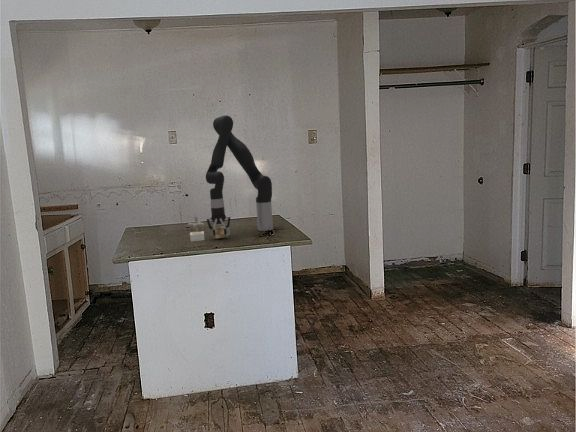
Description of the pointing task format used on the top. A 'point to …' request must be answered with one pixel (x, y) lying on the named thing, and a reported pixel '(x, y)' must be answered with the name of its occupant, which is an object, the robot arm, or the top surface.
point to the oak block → (219, 232)
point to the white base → (197, 236)
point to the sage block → (227, 232)
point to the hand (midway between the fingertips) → (220, 235)
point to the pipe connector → (196, 224)
